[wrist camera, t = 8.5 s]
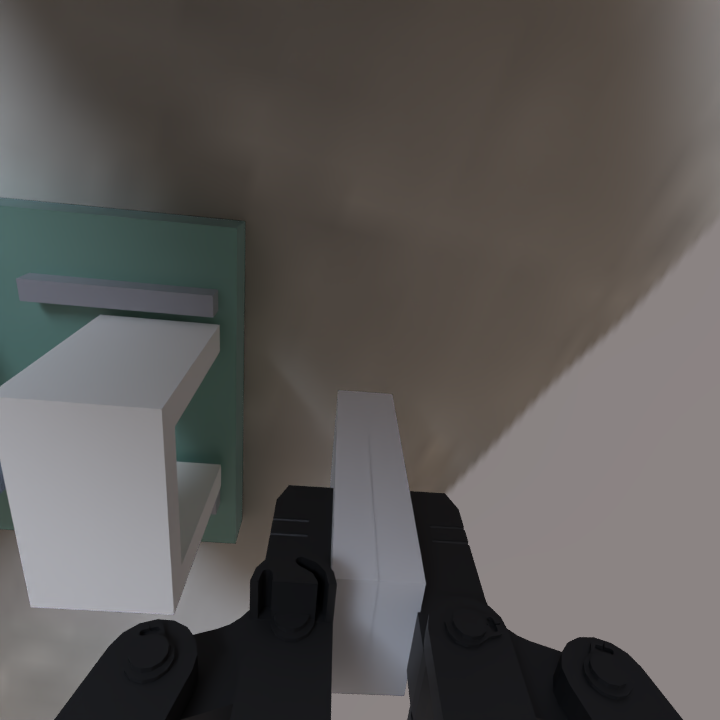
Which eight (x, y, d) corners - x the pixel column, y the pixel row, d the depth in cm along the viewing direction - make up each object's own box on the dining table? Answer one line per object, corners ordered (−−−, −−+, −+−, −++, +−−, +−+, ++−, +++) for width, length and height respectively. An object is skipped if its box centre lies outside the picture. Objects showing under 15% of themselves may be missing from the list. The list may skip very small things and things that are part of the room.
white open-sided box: (117, 478, 16) (30, 606, 12) (100, 314, 14) (-14, 396, 10) (221, 485, 16) (173, 614, 12) (219, 324, 14) (161, 409, 10)
